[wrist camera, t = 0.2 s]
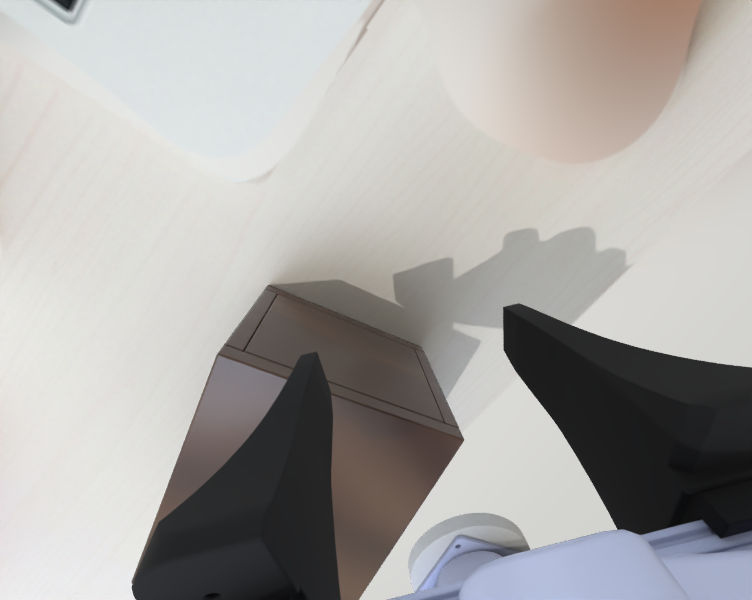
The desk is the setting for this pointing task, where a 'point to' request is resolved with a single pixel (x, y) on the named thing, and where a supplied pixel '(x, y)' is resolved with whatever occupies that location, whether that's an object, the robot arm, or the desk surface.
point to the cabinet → (350, 422)
